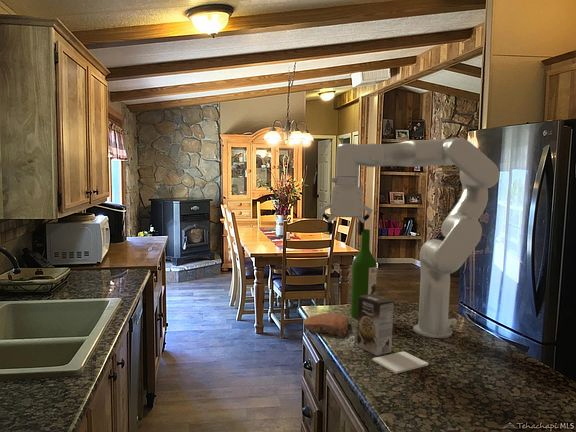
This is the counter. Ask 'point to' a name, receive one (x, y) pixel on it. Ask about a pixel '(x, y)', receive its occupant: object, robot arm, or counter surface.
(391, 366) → the white flat panel
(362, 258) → the wine bottle
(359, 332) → the coffee box
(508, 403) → the counter surface
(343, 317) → the ceramic shard
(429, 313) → the robot arm
